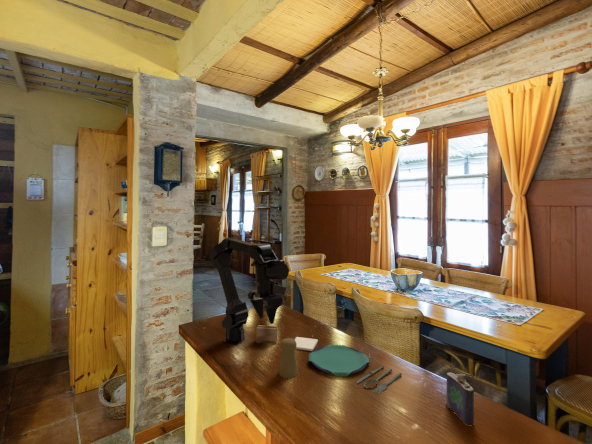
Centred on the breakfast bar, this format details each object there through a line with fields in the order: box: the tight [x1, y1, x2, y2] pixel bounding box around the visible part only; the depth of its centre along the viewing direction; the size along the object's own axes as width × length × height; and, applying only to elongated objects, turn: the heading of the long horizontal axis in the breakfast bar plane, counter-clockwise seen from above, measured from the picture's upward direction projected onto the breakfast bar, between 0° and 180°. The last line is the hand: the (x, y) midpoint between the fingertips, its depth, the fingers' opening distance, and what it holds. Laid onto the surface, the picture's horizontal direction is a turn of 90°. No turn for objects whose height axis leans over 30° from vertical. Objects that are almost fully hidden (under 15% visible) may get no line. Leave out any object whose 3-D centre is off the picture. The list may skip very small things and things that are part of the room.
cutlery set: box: [307, 344, 403, 395], centre depth 104 cm, size 20×30×2 cm, turn 42°
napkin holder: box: [255, 324, 278, 345], centre depth 124 cm, size 8×3×6 cm, turn 83°
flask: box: [445, 372, 475, 426], centre depth 80 cm, size 9×3×11 cm, turn 8°
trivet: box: [294, 336, 319, 352], centre depth 122 cm, size 9×9×1 cm
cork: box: [278, 337, 299, 379], centre depth 100 cm, size 6×6×11 cm
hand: (266, 320), depth 114 cm, fingers open, 9 cm apart
